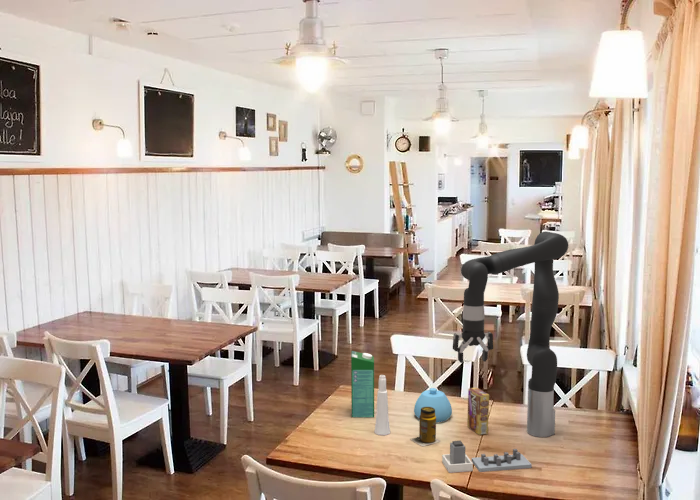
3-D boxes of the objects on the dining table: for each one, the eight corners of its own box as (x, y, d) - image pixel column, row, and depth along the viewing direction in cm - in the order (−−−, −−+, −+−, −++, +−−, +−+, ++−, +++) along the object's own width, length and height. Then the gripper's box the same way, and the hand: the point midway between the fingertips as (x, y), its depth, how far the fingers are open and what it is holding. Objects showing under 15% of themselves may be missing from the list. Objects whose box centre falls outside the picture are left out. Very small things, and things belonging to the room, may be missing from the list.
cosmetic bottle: (374, 429, 255) (374, 373, 252) (390, 429, 255) (390, 373, 252) (374, 435, 249) (374, 378, 246) (390, 435, 249) (390, 378, 246)
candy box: (489, 433, 250) (489, 394, 248) (478, 435, 249) (479, 395, 247) (476, 425, 258) (477, 387, 256) (466, 426, 257) (467, 388, 255)
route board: (521, 457, 230) (522, 447, 229) (531, 467, 222) (531, 457, 222) (471, 461, 227) (471, 451, 227) (479, 471, 219) (479, 461, 219)
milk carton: (374, 417, 266) (374, 356, 263) (351, 417, 267) (351, 356, 263) (373, 409, 275) (373, 350, 272) (351, 409, 276) (351, 350, 272)
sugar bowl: (425, 407, 278) (426, 380, 276) (458, 415, 269) (458, 387, 267) (407, 418, 266) (407, 390, 264) (440, 427, 257) (440, 398, 255)
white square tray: (464, 460, 228) (465, 453, 228) (472, 470, 220) (472, 463, 220) (442, 462, 227) (442, 454, 226) (449, 472, 219) (449, 465, 219)
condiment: (440, 441, 244) (441, 409, 242) (422, 447, 239) (423, 414, 237) (427, 434, 250) (428, 403, 248) (410, 440, 245) (410, 408, 243)
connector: (461, 461, 226) (461, 439, 225) (465, 466, 222) (465, 444, 221) (449, 462, 225) (450, 440, 224) (453, 467, 221) (453, 445, 220)
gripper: (489, 314, 241) (488, 357, 243) (450, 315, 239) (450, 359, 241) (496, 318, 234) (495, 363, 236) (457, 320, 232) (456, 365, 234)
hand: (472, 361), depth 239 cm, fingers open, 8 cm apart
